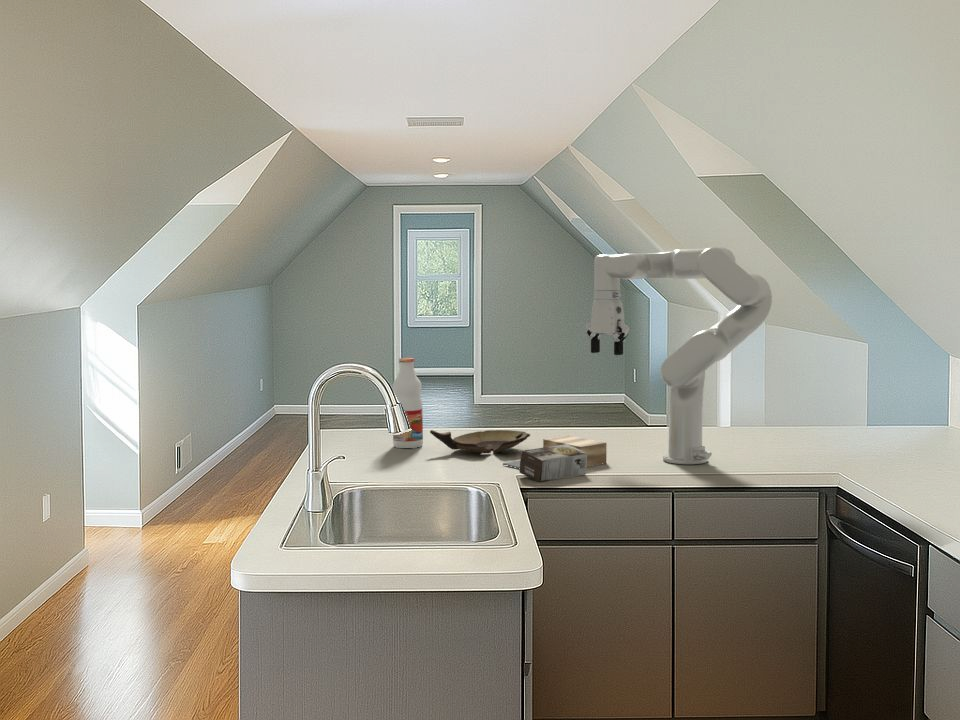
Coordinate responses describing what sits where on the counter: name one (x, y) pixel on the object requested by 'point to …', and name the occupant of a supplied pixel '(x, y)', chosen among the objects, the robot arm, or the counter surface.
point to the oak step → (581, 447)
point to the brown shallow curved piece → (483, 440)
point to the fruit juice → (409, 404)
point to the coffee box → (553, 462)
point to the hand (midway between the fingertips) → (606, 353)
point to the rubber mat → (513, 464)
